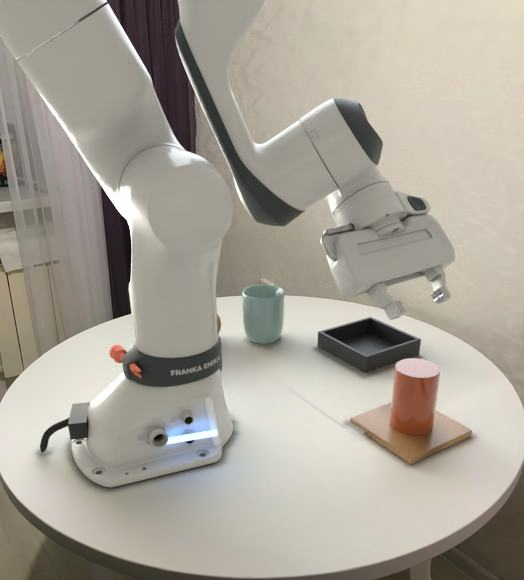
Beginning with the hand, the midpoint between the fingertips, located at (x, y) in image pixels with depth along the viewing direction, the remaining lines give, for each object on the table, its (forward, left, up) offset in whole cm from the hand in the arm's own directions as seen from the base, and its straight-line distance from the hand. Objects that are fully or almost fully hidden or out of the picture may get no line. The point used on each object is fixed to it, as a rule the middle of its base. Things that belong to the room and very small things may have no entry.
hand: (422, 308), depth 77 cm
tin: (+13, +22, -19) cm, 32 cm away
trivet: (0, 0, -19) cm, 19 cm away
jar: (0, 0, -18) cm, 18 cm away
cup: (0, +38, -19) cm, 42 cm away
